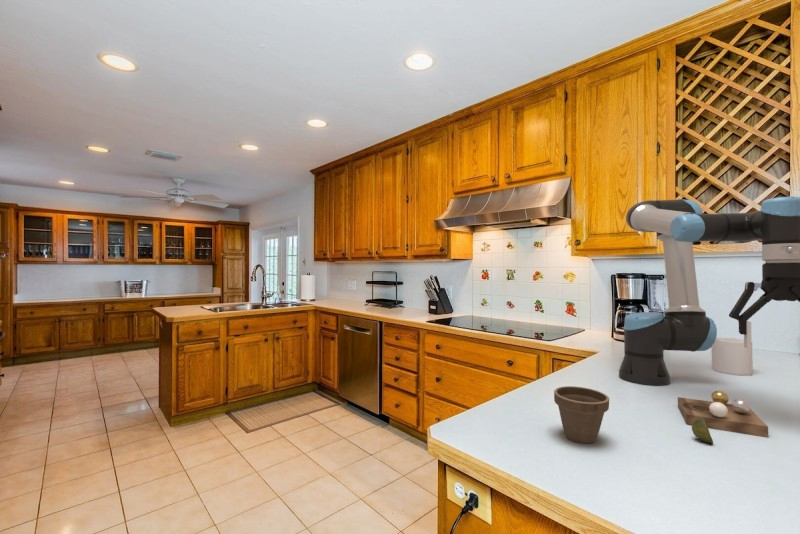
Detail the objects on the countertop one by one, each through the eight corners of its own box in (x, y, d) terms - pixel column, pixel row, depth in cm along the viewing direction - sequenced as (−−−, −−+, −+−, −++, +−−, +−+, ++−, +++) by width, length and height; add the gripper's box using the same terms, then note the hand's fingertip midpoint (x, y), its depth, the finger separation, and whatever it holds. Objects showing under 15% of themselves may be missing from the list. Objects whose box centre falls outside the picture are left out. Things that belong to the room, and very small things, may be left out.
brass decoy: (713, 405, 101) (713, 391, 101) (710, 401, 104) (710, 388, 104) (730, 407, 99) (730, 394, 99) (726, 403, 102) (726, 390, 102)
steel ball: (734, 414, 94) (733, 400, 94) (730, 409, 98) (730, 396, 98) (752, 417, 93) (752, 402, 93) (748, 412, 96) (748, 398, 96)
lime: (705, 436, 88) (704, 414, 88) (723, 446, 83) (723, 422, 83) (685, 436, 88) (685, 414, 88) (703, 446, 83) (702, 423, 83)
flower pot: (618, 451, 80) (617, 403, 80) (560, 447, 82) (560, 400, 82) (599, 429, 91) (599, 387, 92) (549, 426, 93) (549, 384, 93)
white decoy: (711, 418, 92) (710, 403, 92) (707, 413, 95) (707, 399, 95) (729, 420, 90) (729, 405, 90) (725, 415, 93) (725, 401, 93)
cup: (746, 377, 137) (745, 343, 137) (706, 370, 147) (706, 339, 147) (757, 372, 144) (756, 340, 144) (718, 366, 153) (718, 336, 154)
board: (686, 424, 94) (686, 414, 94) (677, 406, 107) (677, 397, 108) (768, 437, 87) (768, 426, 87) (747, 415, 100) (747, 406, 100)
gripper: (721, 262, 95) (722, 348, 94) (868, 260, 83) (870, 359, 82) (714, 263, 101) (715, 343, 101) (849, 261, 89) (851, 353, 89)
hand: (784, 350), depth 92 cm, fingers open, 13 cm apart
